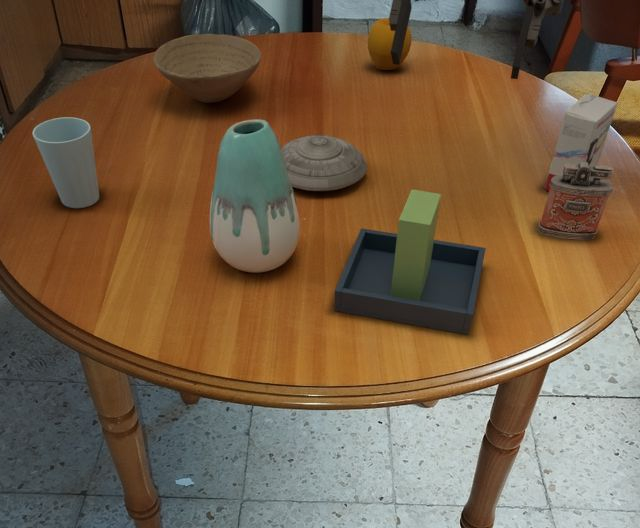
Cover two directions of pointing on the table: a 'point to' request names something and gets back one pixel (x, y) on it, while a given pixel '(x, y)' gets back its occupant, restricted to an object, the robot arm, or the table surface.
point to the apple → (385, 45)
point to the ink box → (582, 134)
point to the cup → (69, 159)
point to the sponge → (415, 244)
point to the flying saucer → (322, 163)
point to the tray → (438, 294)
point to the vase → (253, 200)
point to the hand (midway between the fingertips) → (453, 66)
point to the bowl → (208, 64)
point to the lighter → (576, 201)
